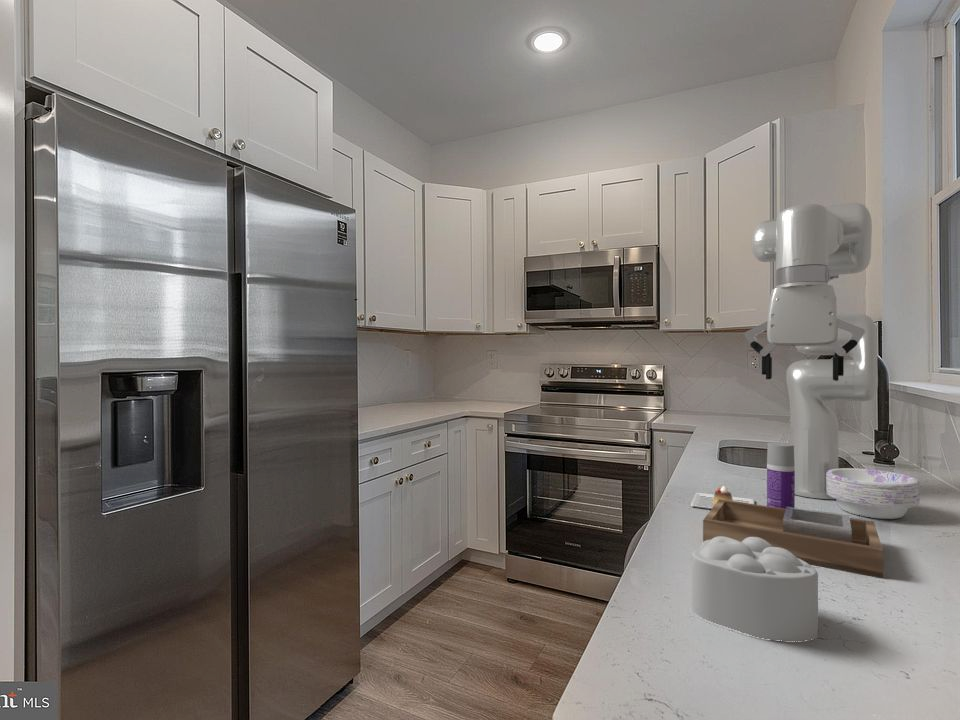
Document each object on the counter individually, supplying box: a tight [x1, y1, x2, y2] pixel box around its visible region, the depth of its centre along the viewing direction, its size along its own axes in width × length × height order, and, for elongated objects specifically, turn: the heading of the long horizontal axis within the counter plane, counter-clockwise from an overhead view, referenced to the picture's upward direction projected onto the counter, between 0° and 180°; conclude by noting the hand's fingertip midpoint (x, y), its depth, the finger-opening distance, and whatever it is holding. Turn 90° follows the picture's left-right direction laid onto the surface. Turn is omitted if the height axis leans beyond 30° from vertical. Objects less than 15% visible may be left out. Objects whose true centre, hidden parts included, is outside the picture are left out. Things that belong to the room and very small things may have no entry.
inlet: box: [783, 507, 852, 543], centre depth 83 cm, size 9×9×4 cm
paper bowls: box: [826, 467, 921, 520], centre depth 104 cm, size 15×15×8 cm
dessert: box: [690, 485, 755, 510], centre depth 109 cm, size 12×12×5 cm
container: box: [766, 441, 796, 509], centre depth 98 cm, size 5×5×15 cm
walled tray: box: [702, 499, 884, 579], centre depth 86 cm, size 16×24×4 cm, turn 56°
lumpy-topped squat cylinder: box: [691, 536, 819, 643], centre depth 61 cm, size 10×13×9 cm
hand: (801, 379), depth 86 cm, fingers open, 9 cm apart
